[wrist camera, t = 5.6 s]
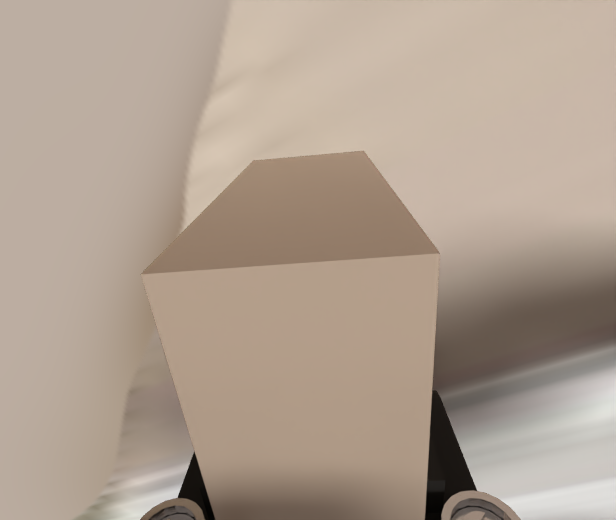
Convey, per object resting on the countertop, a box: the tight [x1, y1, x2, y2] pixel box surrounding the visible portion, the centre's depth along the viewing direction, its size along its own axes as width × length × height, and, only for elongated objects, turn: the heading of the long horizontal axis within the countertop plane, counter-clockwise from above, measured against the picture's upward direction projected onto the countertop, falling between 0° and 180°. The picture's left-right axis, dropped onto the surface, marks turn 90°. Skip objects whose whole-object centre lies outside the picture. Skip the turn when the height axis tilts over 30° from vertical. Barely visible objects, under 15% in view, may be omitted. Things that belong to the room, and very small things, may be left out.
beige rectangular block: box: [141, 151, 440, 520], centre depth 9 cm, size 3×12×7 cm, turn 5°
